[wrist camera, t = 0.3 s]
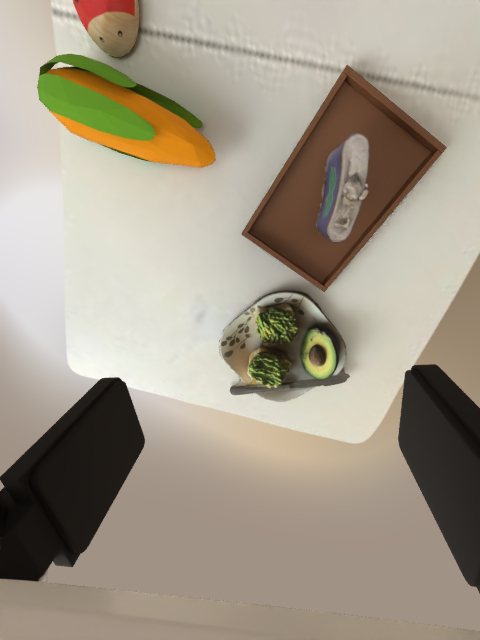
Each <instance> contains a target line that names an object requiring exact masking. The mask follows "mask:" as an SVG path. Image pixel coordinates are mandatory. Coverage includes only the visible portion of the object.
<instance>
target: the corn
mask: <svg viewBox="0 0 480 640" xmlns="http://www.w3.org/2000/svg"><path fill="white" fill-rule="evenodd" d="M58 62H63V63H66V64H69V65H73V66H76V67H63V68H57V69H52V70H51V68H52V67H53V66H54V65H55V64H56V63H58ZM37 88H38V94H39V100H40V101H41V102H42V103H43V104H44V105H45V106H46V107H47V108H48V109H49V111H50V112H51V113H52V114H53V115H54V116H55V117H56V118H57V119H58V120H59V121H60V122H61V123H62V124H63V125H64V126H65V127H66V128H67V129H68V130H69V131H70V132H71V133H73V134H76V135H78V136H80V137H83V138H85V139H87V140H90V141H93V142H96V143H98V144H101V145H103V146H105V147H108V148H110V149H112V150H115V151H117V152H119V153H122V154H125V155H129V156H132V157H135V158H138V159H142V160H146V161H151V162H159V163H167V164H176V165H184V166H192V167H201V168H203V167H205V166H208V165H211V164H213V163H214V161H215V160H216V159H215V152H214V150H213V148H212V146H211V145H210V143H209V141H208V140H207V139H206V138H205V137H204V136H202V135H201V134H200V133H199V132H198V131H197V130H196V129H194V128H193V127H195V128H200V127H202V125H203V124H202V122H201V121H200V120H199V119H198V118H196V117H195V116H194V115H193V114H191V113H190V112H189V111H187V110H186V109H184V108H183V107H182V106H180V105H179V104H177V103H176V102H174V101H173V100H171V99H169V98H167V97H165V96H162V95H160V94H158V93H156V92H154V91H152V90H150V89H148V88H146V87H144V86H142V85H139V84H137V83H135V82H133V81H132V80H131V79H130V78H128V77H127V76H126V75H124V74H123V73H121V72H119V71H117V70H115V69H113V68H112V67H110V66H108V65H106V64H103V63H100V62H98V61H95V60H92V59H90V58H87V57H84V56H81V55H74V54H66V55H59V56H56V57H54V58H53V59H52V60H50V61H49V62H47V63H46V64H44V65H43V66H42V67H40V75H39V80H38V87H37Z"/></svg>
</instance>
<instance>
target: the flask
mask: <svg viewBox="0 0 480 640" xmlns="http://www.w3.org/2000/svg"><path fill="white" fill-rule="evenodd" d="M369 151H370V147H369V140H368V138H367V137H366V136H365V135H363V134H359V133H355V134H351V135H350V136H349V137H348V138H347V139H346V140H345V141H344V142H343V143H342V144H341V145H340V146H339V147H338V148H337V149H335V150H334V151H333V152H331V153H330V155H329V156H328V159H327V163H326V167H325V171H326V176H325V180H324V183H323V187H322V192H321V194H322V195H321V196H322V199H323V200H322V203H321V204H320V209H321V210H320V213H319V214H318V219H317V223H316V228H317V230H318V231H319V234H320V233H321V234H322V235H323V236H324V237H325V238H326V239H327V240H328V241H329V242H330V243H340V242H343V241H345V240H346V239H347V238H348V237H349V236H350V233H351V231H352V229H353V226H354V224H355V221H356V219H357V216H358V214H359V212H360V208H361V206H362V200H363V199H365V197H366V196H367V194H368V190H367V189H366V190H365V188H366V187H368V184H366V183H367V174H368V166H369Z"/></svg>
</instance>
